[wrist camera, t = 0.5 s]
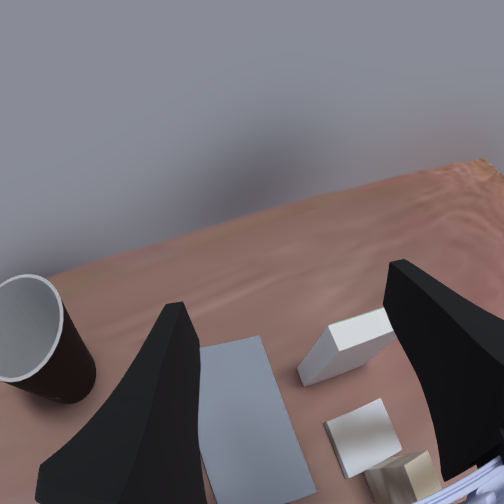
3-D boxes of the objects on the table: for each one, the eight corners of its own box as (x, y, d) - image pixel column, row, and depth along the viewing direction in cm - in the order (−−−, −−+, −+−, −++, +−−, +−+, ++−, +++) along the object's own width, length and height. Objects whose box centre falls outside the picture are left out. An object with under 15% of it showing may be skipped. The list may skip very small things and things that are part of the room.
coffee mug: (124, 382, 24) (84, 337, 16) (58, 431, 19) (-6, 404, 11) (68, 298, 28) (31, 235, 20) (12, 339, 23) (-39, 286, 16)
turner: (410, 481, 19) (456, 476, 14) (358, 511, 17) (400, 518, 12) (376, 400, 25) (415, 377, 20) (323, 423, 23) (355, 407, 18)
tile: (365, 364, 27) (411, 322, 21) (303, 387, 26) (339, 351, 19) (356, 346, 29) (399, 300, 22) (296, 366, 27) (327, 324, 20)
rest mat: (315, 491, 19) (317, 491, 18) (223, 519, 17) (223, 520, 16) (258, 338, 28) (259, 335, 28) (176, 354, 26) (175, 352, 26)
